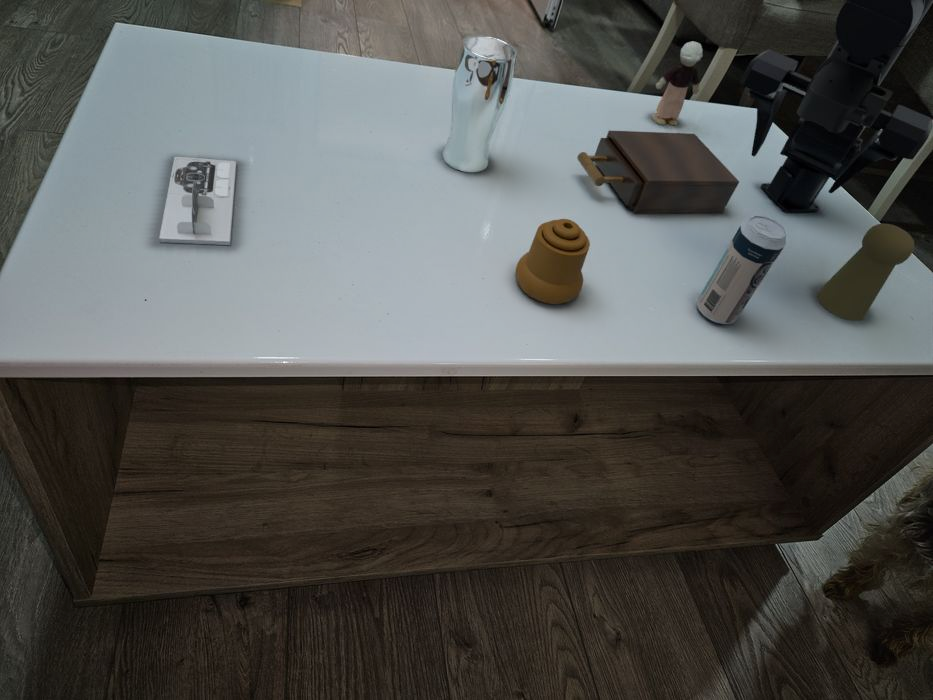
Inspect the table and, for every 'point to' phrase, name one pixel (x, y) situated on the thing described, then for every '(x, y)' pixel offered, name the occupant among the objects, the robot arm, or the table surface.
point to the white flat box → (199, 202)
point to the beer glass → (478, 100)
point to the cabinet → (675, 172)
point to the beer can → (741, 269)
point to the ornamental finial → (554, 262)
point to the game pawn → (866, 272)
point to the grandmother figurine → (678, 84)
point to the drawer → (613, 171)
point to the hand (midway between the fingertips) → (791, 173)
